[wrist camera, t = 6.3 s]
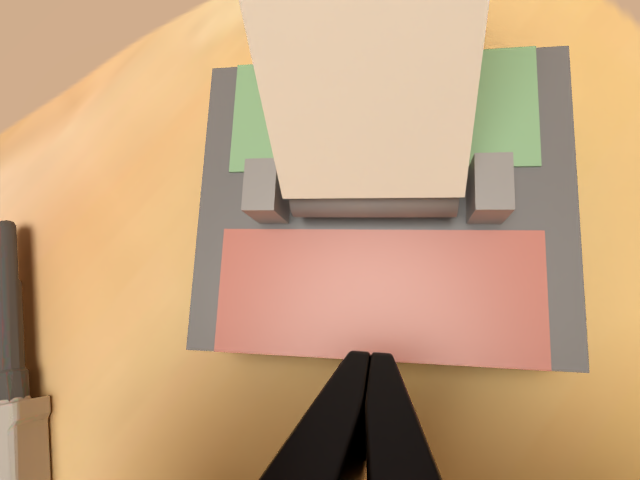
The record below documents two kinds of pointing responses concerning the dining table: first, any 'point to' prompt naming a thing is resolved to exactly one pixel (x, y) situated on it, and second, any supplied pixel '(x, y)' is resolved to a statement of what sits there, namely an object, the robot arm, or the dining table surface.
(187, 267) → the dining table surface
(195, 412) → the dining table surface
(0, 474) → the walkie-talkie
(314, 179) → the breaker lever
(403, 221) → the breaker housing
